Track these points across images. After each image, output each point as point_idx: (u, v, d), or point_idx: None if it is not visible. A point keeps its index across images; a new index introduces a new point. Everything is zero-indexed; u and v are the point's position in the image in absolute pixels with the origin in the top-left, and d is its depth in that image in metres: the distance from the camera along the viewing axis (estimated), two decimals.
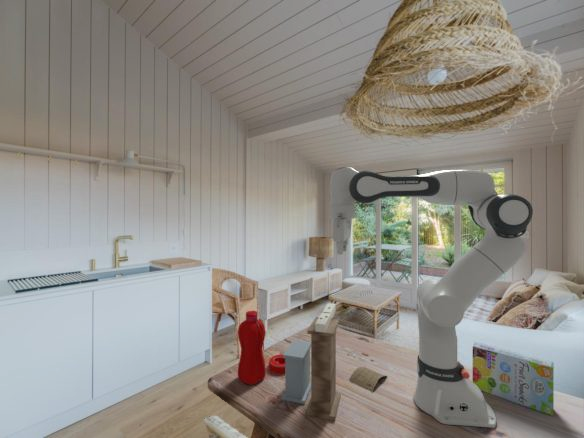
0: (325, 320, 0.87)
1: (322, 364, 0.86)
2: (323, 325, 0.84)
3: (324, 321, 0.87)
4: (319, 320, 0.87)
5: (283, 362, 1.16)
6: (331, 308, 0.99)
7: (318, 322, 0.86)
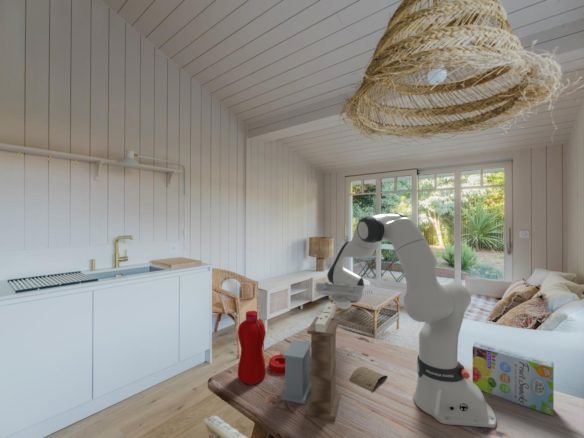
0: (325, 320, 0.87)
1: (322, 364, 0.86)
2: (323, 325, 0.84)
3: (324, 321, 0.87)
4: (319, 320, 0.87)
5: (283, 362, 1.16)
6: (331, 308, 0.99)
7: (318, 322, 0.86)
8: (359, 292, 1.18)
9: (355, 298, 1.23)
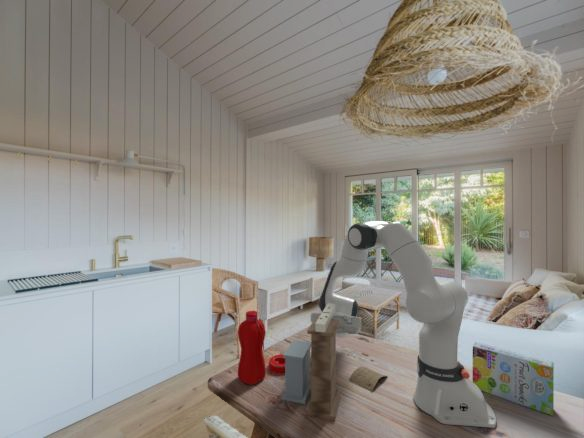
0: (325, 320, 0.87)
1: (322, 364, 0.86)
2: (323, 325, 0.84)
3: (324, 321, 0.87)
4: (319, 320, 0.87)
5: (283, 362, 1.16)
6: (331, 308, 0.99)
7: (318, 322, 0.86)
8: (357, 324, 1.08)
9: (353, 329, 1.13)
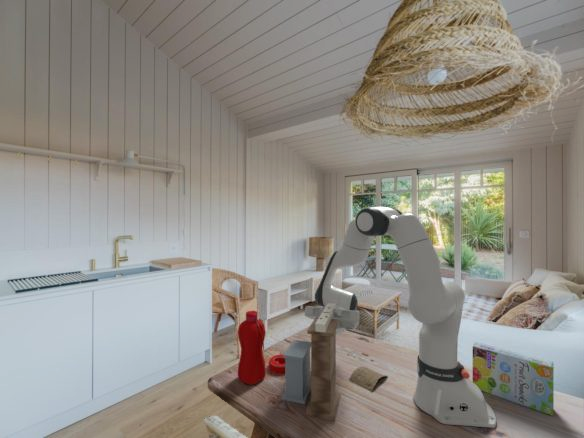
0: (325, 320, 0.87)
1: (322, 364, 0.86)
2: (323, 325, 0.84)
3: (324, 321, 0.87)
4: (319, 320, 0.87)
5: (283, 362, 1.16)
6: (331, 308, 0.99)
7: (318, 322, 0.86)
8: (355, 318, 1.00)
9: (351, 324, 1.05)
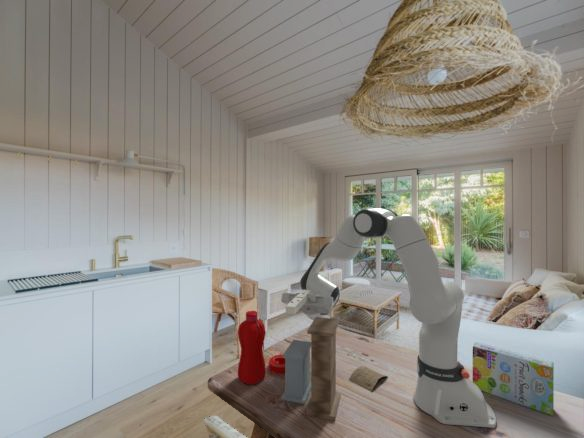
0: (296, 303, 0.91)
1: (322, 364, 0.86)
2: (293, 307, 0.88)
3: (294, 304, 0.90)
4: (290, 303, 0.91)
5: (283, 362, 1.16)
6: (305, 294, 1.03)
7: (288, 305, 0.90)
8: (328, 304, 1.04)
9: (325, 310, 1.09)
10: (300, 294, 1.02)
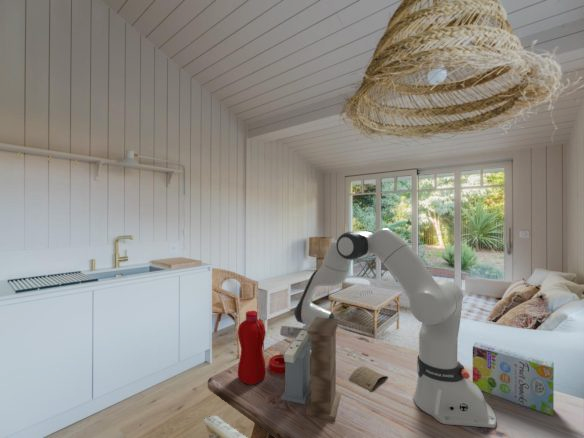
0: (295, 350, 0.91)
1: (322, 364, 0.86)
2: (291, 356, 0.88)
3: (293, 351, 0.90)
4: (289, 350, 0.91)
5: (283, 362, 1.16)
6: (304, 335, 1.03)
7: (287, 352, 0.90)
8: None
9: None
10: (299, 336, 1.02)
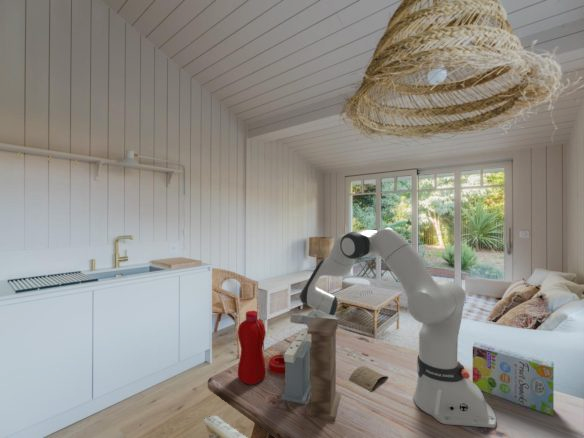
0: (295, 350, 0.91)
1: (322, 364, 0.86)
2: (291, 356, 0.88)
3: (293, 351, 0.90)
4: (289, 350, 0.91)
5: (283, 362, 1.16)
6: (304, 335, 1.03)
7: (287, 352, 0.90)
8: None
9: None
10: (299, 336, 1.02)
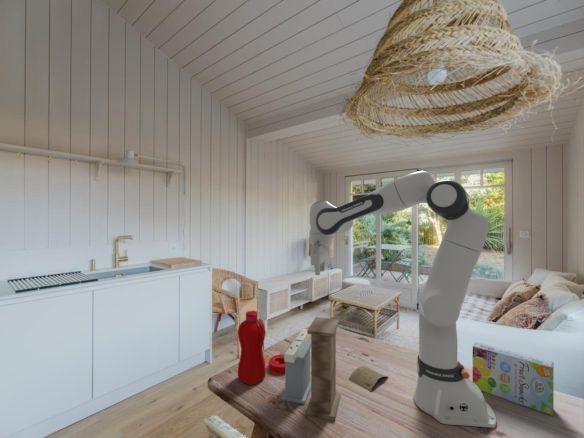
0: (295, 350, 0.91)
1: (322, 364, 0.86)
2: (291, 356, 0.88)
3: (293, 351, 0.90)
4: (289, 350, 0.91)
5: (283, 362, 1.16)
6: (304, 335, 1.03)
7: (287, 352, 0.90)
8: None
9: None
10: (299, 336, 1.02)
